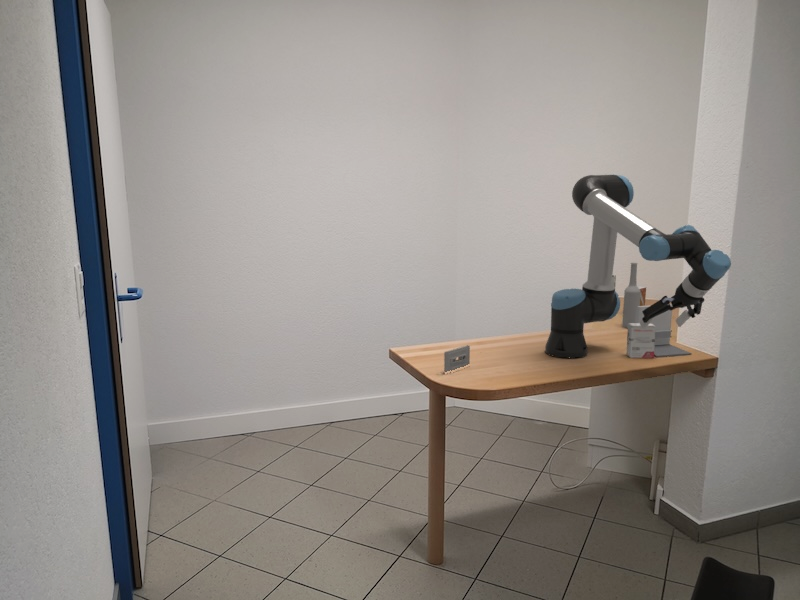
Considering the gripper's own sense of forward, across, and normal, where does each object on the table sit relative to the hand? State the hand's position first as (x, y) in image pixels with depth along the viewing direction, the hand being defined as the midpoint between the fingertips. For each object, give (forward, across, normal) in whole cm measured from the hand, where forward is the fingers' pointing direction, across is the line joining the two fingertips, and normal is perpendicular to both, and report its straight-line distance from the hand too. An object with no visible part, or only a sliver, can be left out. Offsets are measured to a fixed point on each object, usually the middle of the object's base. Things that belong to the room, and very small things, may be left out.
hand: (659, 324), depth 202 cm
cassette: (+17, -69, -3) cm, 71 cm away
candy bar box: (+73, +30, +53) cm, 95 cm away
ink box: (+17, 0, -3) cm, 17 cm away
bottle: (+45, +21, +25) cm, 56 cm away
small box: (+61, +37, +41) cm, 82 cm away
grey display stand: (+21, +11, +1) cm, 24 cm away
